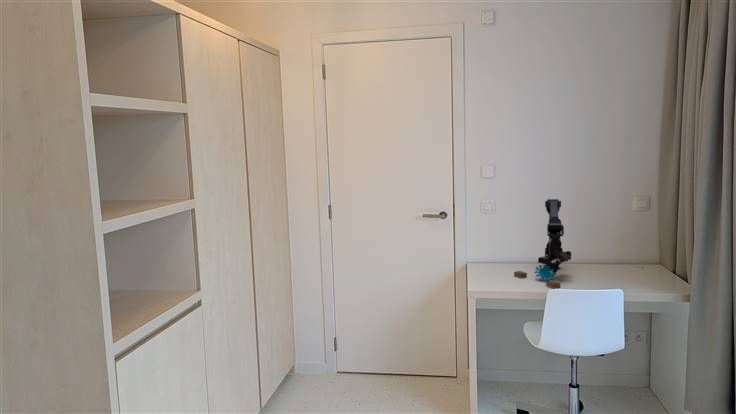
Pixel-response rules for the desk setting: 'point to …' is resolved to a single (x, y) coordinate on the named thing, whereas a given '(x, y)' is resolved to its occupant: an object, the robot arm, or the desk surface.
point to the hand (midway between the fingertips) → (554, 274)
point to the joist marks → (549, 283)
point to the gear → (545, 273)
